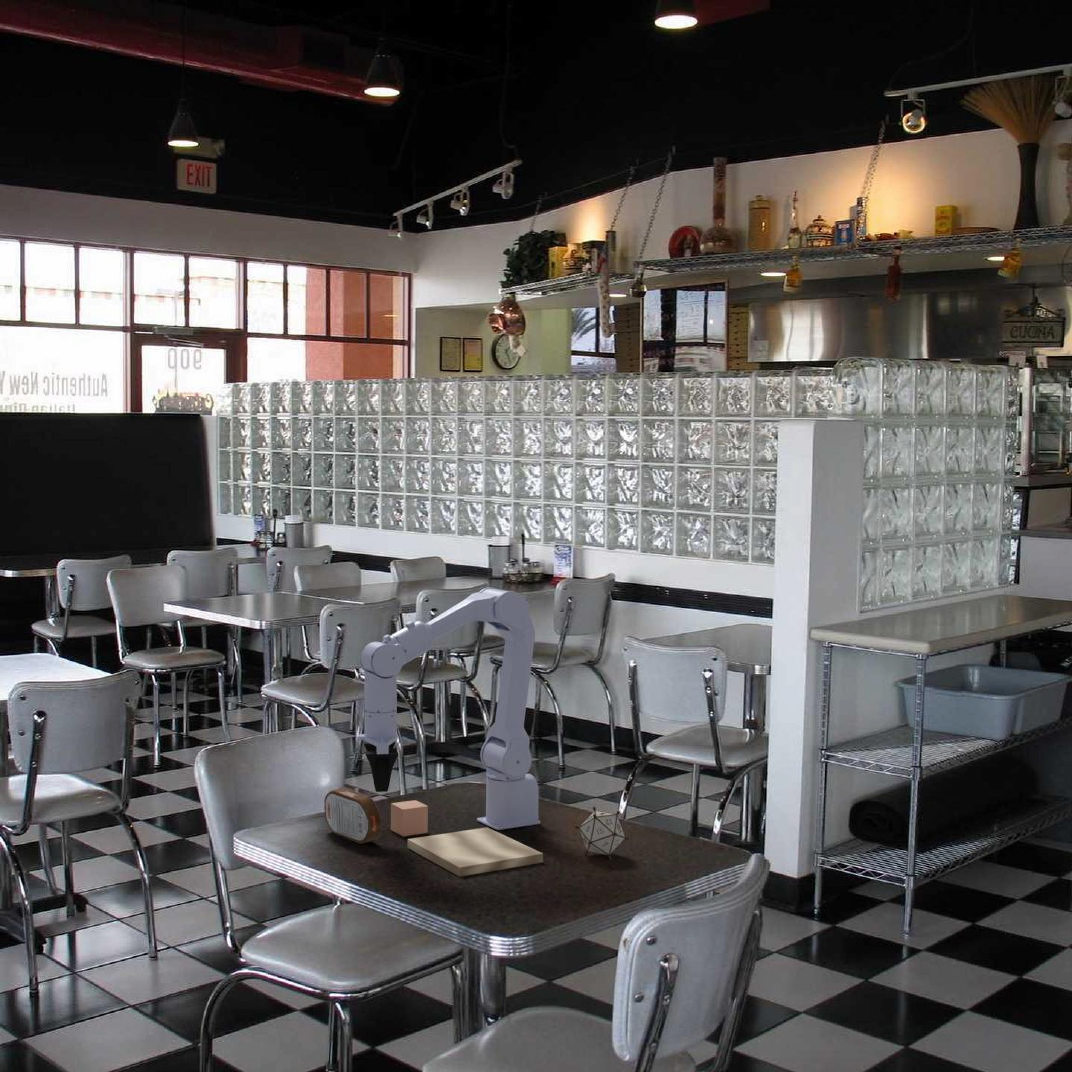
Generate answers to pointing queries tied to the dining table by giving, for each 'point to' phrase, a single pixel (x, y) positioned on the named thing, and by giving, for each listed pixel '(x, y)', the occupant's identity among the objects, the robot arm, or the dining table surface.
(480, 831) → the maple board
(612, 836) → the game die
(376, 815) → the tin
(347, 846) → the dining table surface
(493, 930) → the dining table surface
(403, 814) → the terracotta cube
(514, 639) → the robot arm
